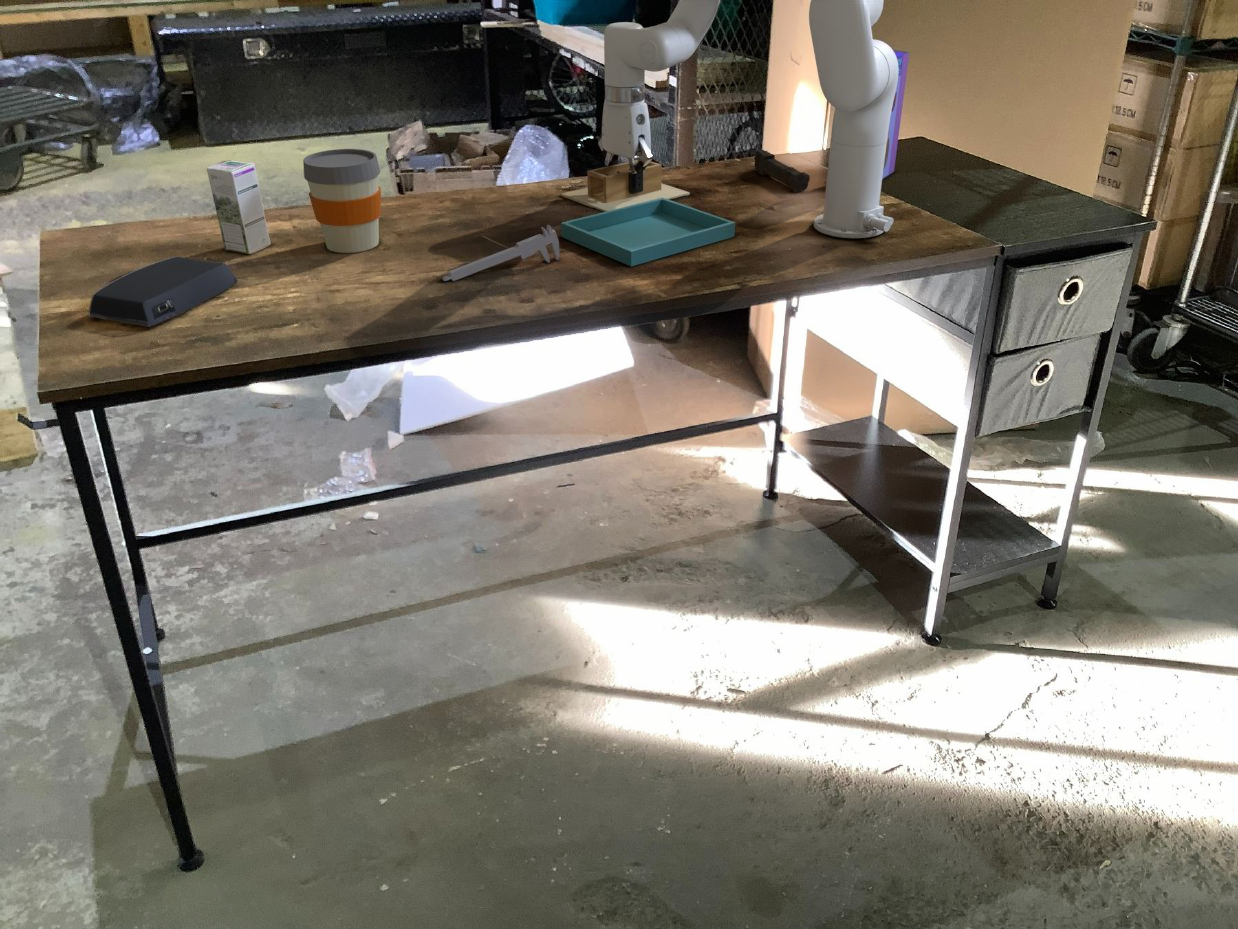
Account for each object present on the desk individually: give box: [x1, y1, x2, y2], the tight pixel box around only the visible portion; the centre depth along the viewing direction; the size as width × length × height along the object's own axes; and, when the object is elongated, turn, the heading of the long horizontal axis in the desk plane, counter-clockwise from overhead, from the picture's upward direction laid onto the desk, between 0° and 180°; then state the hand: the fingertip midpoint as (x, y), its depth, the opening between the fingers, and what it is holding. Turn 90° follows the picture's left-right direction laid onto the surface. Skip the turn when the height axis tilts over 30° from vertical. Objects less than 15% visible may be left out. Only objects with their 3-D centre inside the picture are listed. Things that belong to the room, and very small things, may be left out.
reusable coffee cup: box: [302, 148, 382, 254], centre depth 175 cm, size 12×13×15 cm
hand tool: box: [753, 149, 810, 194], centre depth 209 cm, size 19×4×5 cm, turn 19°
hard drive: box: [88, 255, 239, 328], centre depth 156 cm, size 13×19×4 cm
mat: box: [560, 182, 691, 212], centre depth 202 cm, size 16×20×1 cm
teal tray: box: [560, 198, 736, 267], centre depth 180 cm, size 20×24×3 cm
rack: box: [586, 159, 663, 203], centre depth 201 cm, size 6×14×5 cm, turn 129°
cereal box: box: [882, 49, 910, 181], centre depth 204 cm, size 17×5×24 cm, turn 147°
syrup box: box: [206, 159, 272, 255], centre depth 174 cm, size 6×6×14 cm
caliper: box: [441, 224, 561, 282], centre depth 165 cm, size 20×1×6 cm, turn 118°
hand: (625, 187), depth 202 cm, fingers closed on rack, 6 cm apart
